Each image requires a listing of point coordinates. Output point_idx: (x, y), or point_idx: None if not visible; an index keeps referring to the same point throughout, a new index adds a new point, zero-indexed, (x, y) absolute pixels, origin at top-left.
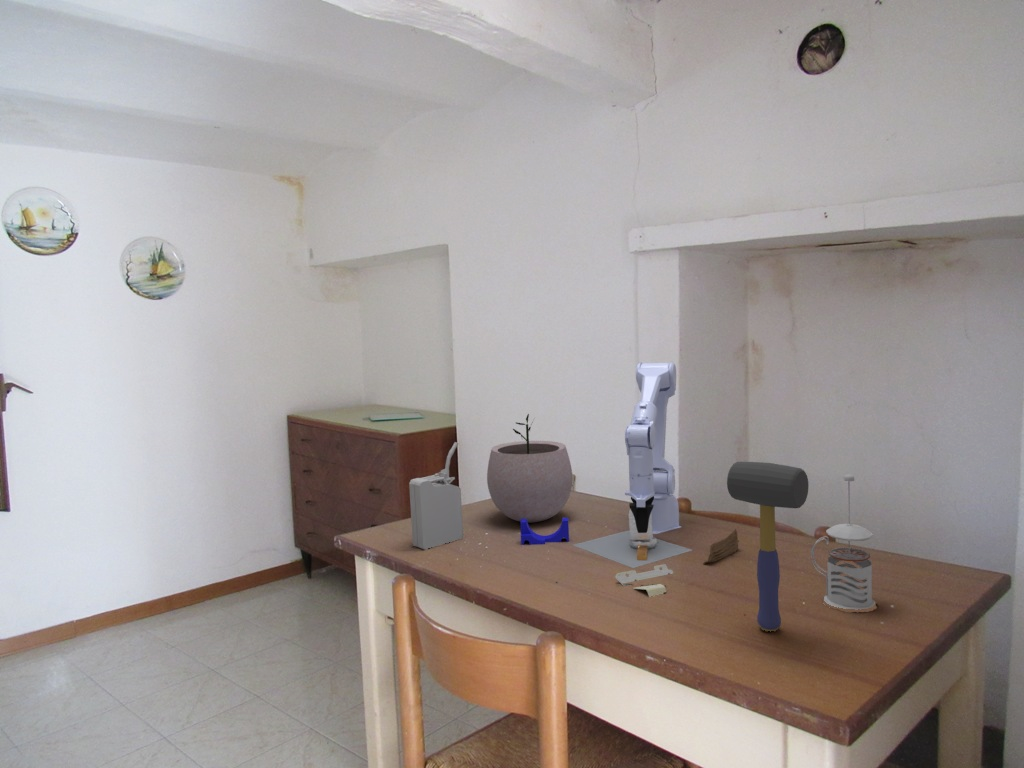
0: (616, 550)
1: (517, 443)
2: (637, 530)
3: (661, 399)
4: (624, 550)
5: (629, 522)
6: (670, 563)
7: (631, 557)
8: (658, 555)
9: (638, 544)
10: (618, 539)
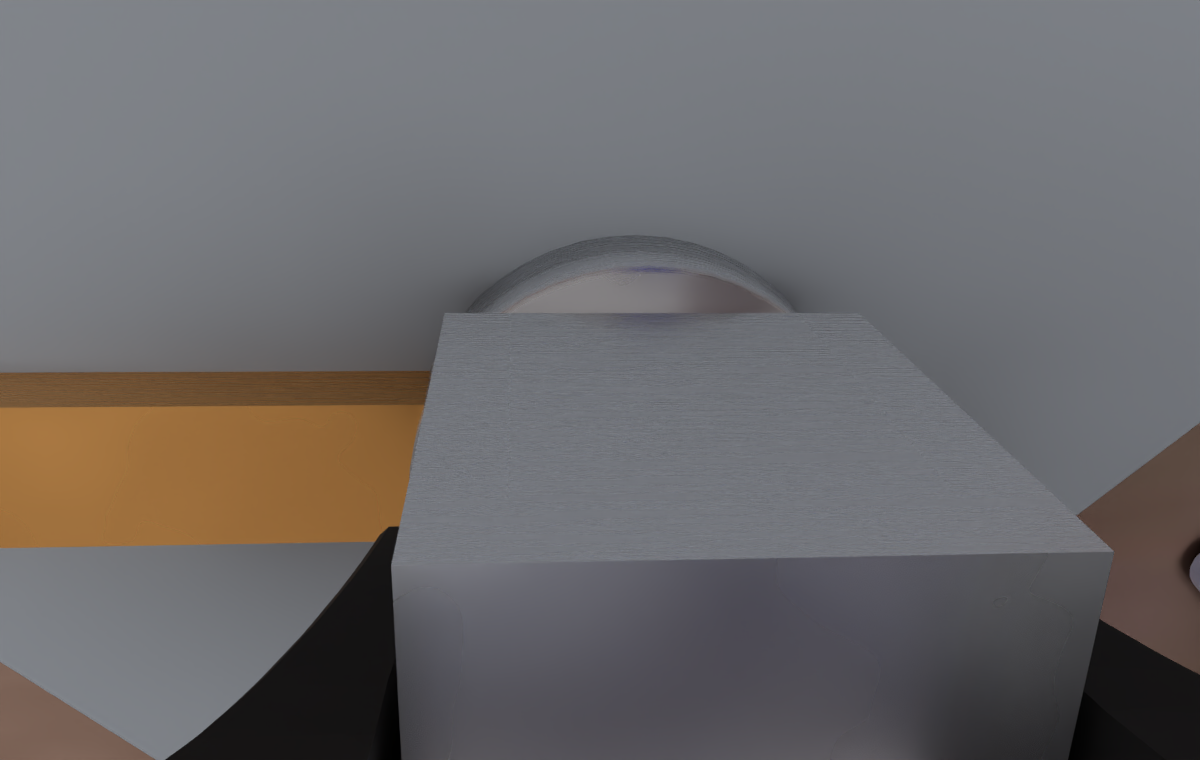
0: (341, 6)
1: None
2: (374, 544)
3: None
4: (365, 153)
5: (419, 465)
6: (9, 751)
7: (6, 285)
8: (202, 640)
9: (421, 414)
10: (996, 16)
